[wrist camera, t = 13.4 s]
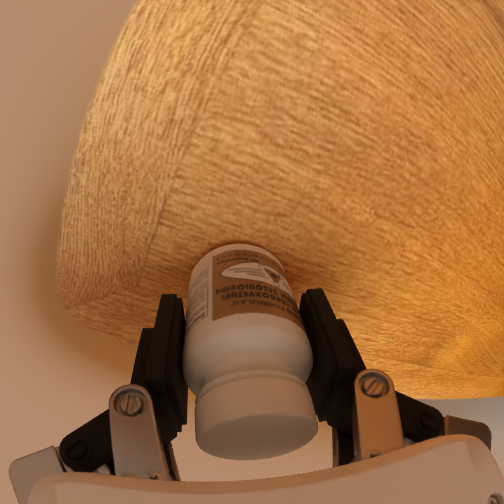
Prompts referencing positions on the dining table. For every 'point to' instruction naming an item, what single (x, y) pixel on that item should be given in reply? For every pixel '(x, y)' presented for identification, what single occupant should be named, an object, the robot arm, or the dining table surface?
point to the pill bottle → (247, 356)
